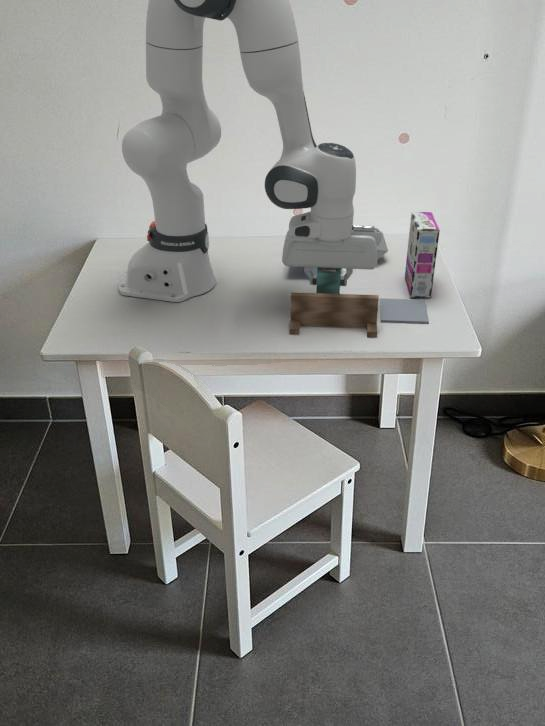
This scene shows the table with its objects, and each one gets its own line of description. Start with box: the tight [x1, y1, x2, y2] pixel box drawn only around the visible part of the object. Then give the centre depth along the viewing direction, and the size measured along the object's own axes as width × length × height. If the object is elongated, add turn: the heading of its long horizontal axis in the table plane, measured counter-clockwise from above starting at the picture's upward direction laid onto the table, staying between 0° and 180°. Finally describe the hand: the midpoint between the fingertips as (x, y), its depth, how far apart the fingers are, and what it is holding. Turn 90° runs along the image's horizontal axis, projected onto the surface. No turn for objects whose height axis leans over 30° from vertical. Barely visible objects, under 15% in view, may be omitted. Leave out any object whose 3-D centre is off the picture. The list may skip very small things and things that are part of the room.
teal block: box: [315, 267, 342, 294], centre depth 158 cm, size 5×5×6 cm
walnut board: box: [288, 291, 380, 338], centre depth 151 cm, size 18×5×7 cm, turn 85°
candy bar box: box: [404, 211, 441, 299], centre depth 164 cm, size 11×5×16 cm, turn 178°
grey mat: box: [379, 297, 430, 325], centre depth 159 cm, size 10×10×1 cm
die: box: [374, 230, 389, 261], centre depth 180 cm, size 8×9×10 cm
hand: (328, 284), depth 159 cm, fingers closed on teal block, 5 cm apart
